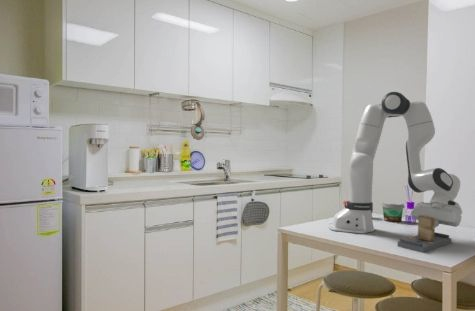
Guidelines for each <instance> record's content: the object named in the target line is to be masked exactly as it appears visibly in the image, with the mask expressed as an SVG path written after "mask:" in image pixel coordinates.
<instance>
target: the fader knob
mask: <svg viewBox="0 0 475 311" xmlns="http://www.w3.org/2000/svg"><path fill="white" fill-rule="evenodd" d="M417 223H418V224H417V226H418V227H417V236H418V238H419V239H424V240H428V241H431V240H434V233H435V228H436V227H435V217H434V216H430V215H419V217H418V220H417Z"/></svg>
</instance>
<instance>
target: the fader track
mask: <svg viewBox="0 0 475 311" xmlns="http://www.w3.org/2000/svg"><path fill="white" fill-rule="evenodd" d="M448 244H452V238H451V237H450V235H449V234H445V233H440V232H435V233H434V240H431V241H428V240H424V239H419V238H418V235H416V236H412V237H409V238H405V239H404V238H400V239H399V240H398V241H397V247H398V248H400V247H401V248H404V249H408V250H410V251H411V250H412V251H416V252H418V253H419V252H420V253H426V252H430V251H431V250H434V249H437V248H440V247H443V246H446V245H448Z"/></svg>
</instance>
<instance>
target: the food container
mask: <svg viewBox="0 0 475 311" xmlns="http://www.w3.org/2000/svg"><path fill="white" fill-rule="evenodd" d="M381 207H382V213H383V214H382V215H383V216H382V217H383V221H384V222H387V223H395V222H398V223H401V222H402V219H403V211H404V209H405V204H404V203H402V204H396V203H386V202H385V203H384V202H382V204H381Z"/></svg>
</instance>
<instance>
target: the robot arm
mask: <svg viewBox="0 0 475 311" xmlns="http://www.w3.org/2000/svg"><path fill="white" fill-rule="evenodd" d="M397 117H403V118H404V120H405V124H406V127H407V133H408V137H407V140H406V143H405V154H406V162H407V172H408V173H407V175H408V176H407V183H408V186H409V188H410V189H411V190H412V191H413V192H415V193H418V194H419V193H424V192H427V191H433V195H432V197H431V198H430V201H429V202H423V201H421V202H418V203H416V204H415V206H414V207H413V209H412V211H411V213H410V214H411V217H412V219H413V220H417V221H418V217H419V215H430V216H434V217H435V228H437V227H439V226H440V225H443V226H449V227H454V228H455V227H456V228H457V227H458V226H460V225H461V222H462V214H463V210H462V207H461V205H460V204H459V203H458V202H456V201H455V199H456V198H457V197H458V194H459V191H460V189H461V180H460V178H459V177H458V176H457V175H456V174H454V173H448V172H447V171H446V170H444V169H443V168H441V167H436V168H431V169H426V170H422V167H421V159H420V153H421V151H422V150H423V148H424V147H425V146H426V145H428V143H430V142H431V141H432V140H433V138H434V136H435V135H436V128H435V124H434V121H433V118H432V114H431V112H430V110H429V108H428V106H427V104H426V103H425V102H423V101H419V100H418V101H412V102H411V100H409V99H408V98H407V97H406V96H405V95H404V94H403V93H401V92H398V91H390V92H387V93H386V94H385V95H384V96H383V97H382V100H381V102H380V103H370V104H368V105H366V107H365V109H364V111H363V113H362V116H361V118H360V121H359V126H358V130H357V133H356V136H355V142H354V145H353V149H352V151H351V152H352V153H351V157H350V160H349V166H348V167H349V168H348V169H349V170H348V172H349V179H348V180H349V183H348V184H349V185H348V200H343V201H342V204H343V205H344V208H343V209H340V211H338V212H336V213H335V214H334V216H333V220H332V222H330V223H328V229H329V230H331V231H335V232H344V233H354V234H366V233H371V232H374V231H375V227H374V222H373V211H374V204H373V202H372V201H373V176H374V175H373V174H374V159H375V157H376V153H377V150H378V146H379V143H380V140H381V136H382V132H383V129H384V124H385V122H386V119H387V118H388V119H389V118H397Z"/></svg>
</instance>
